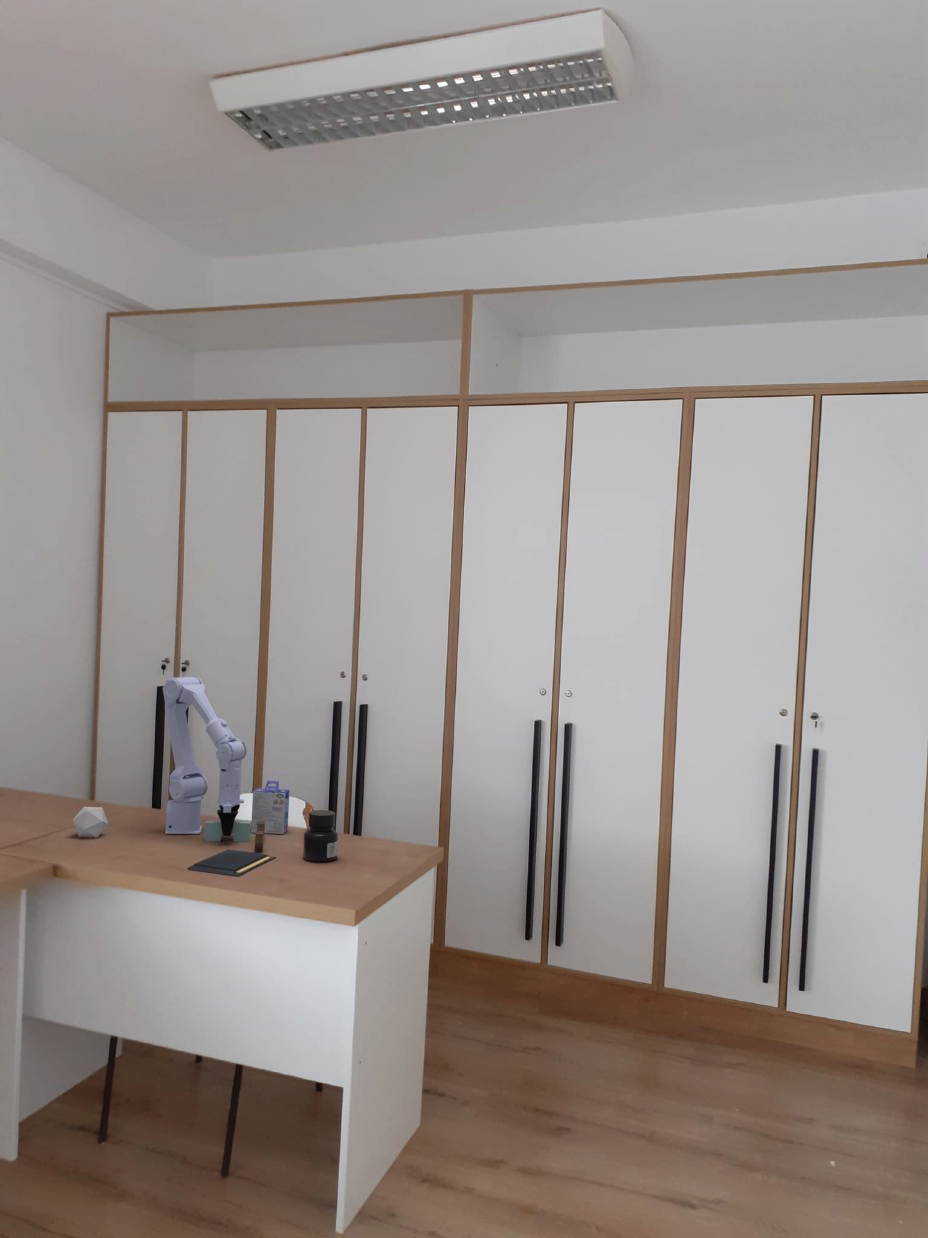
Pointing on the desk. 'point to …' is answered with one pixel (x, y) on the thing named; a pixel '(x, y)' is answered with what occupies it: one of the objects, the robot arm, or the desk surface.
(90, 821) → the die
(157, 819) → the desk surface
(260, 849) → the rail
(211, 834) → the teal curved block
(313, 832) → the ink bottle
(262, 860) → the wallet
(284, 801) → the ink cartridge box
